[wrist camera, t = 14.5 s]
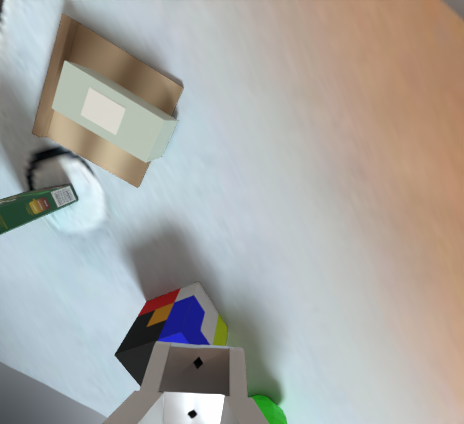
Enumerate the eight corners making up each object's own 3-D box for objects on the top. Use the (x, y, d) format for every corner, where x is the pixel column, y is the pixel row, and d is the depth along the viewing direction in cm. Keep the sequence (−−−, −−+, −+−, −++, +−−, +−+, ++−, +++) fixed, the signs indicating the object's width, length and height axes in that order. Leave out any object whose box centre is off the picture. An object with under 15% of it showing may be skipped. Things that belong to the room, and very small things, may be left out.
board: (183, 88, 29) (179, 86, 28) (139, 186, 34) (133, 190, 32) (74, 19, 28) (62, 13, 26) (43, 132, 33) (31, 133, 31)
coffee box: (73, 181, 35) (-26, 213, 22) (81, 200, 35) (-10, 242, 23) (24, 190, 36) (-97, 226, 23) (33, 209, 37) (-79, 253, 24)
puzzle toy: (198, 281, 39) (180, 331, 29) (228, 327, 41) (220, 388, 32) (146, 301, 41) (114, 355, 31) (177, 344, 43) (156, 405, 34)
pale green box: (164, 120, 25) (64, 60, 24) (145, 162, 27) (51, 108, 26) (178, 120, 30) (95, 70, 29) (161, 156, 32) (82, 110, 31)
